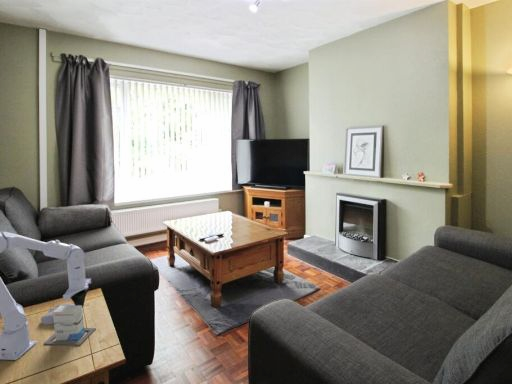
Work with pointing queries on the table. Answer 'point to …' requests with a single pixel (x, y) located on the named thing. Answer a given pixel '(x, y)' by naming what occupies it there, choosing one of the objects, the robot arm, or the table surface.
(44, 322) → the stone block
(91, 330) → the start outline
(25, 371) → the table surface
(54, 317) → the ink box
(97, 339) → the table surface
